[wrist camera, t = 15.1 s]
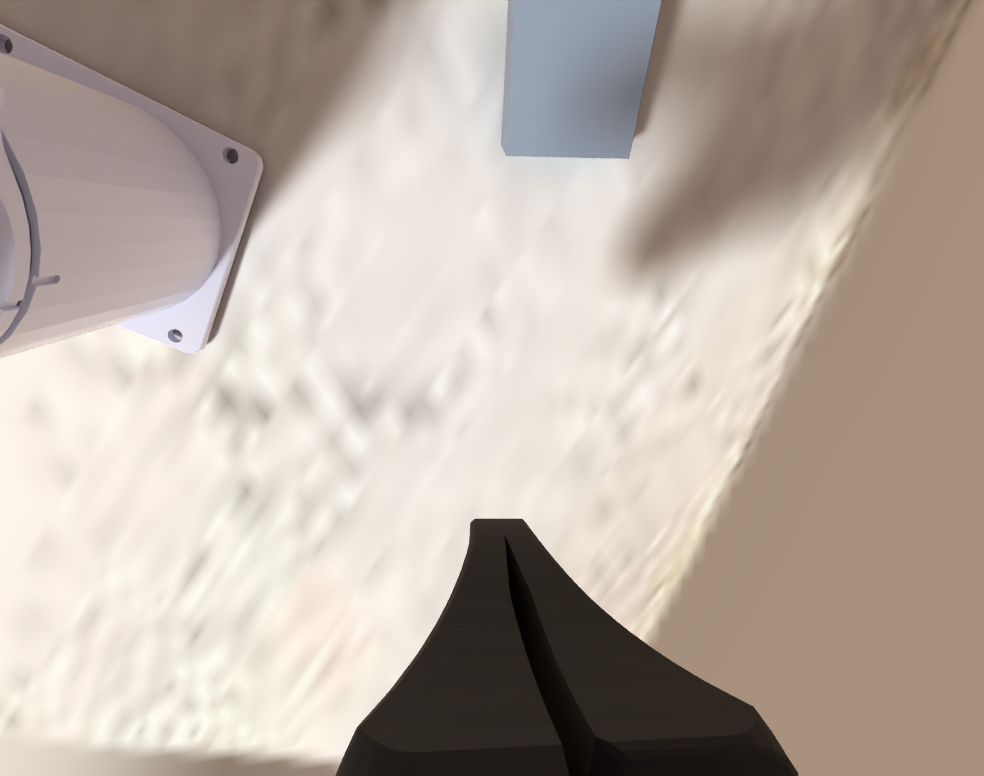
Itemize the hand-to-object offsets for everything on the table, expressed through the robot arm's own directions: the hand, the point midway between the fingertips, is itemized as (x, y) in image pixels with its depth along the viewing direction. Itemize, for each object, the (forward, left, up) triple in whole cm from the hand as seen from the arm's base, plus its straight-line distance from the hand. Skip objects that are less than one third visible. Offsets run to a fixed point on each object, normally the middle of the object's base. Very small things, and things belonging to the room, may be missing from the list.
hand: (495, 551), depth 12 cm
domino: (-2, +11, -9) cm, 14 cm away
